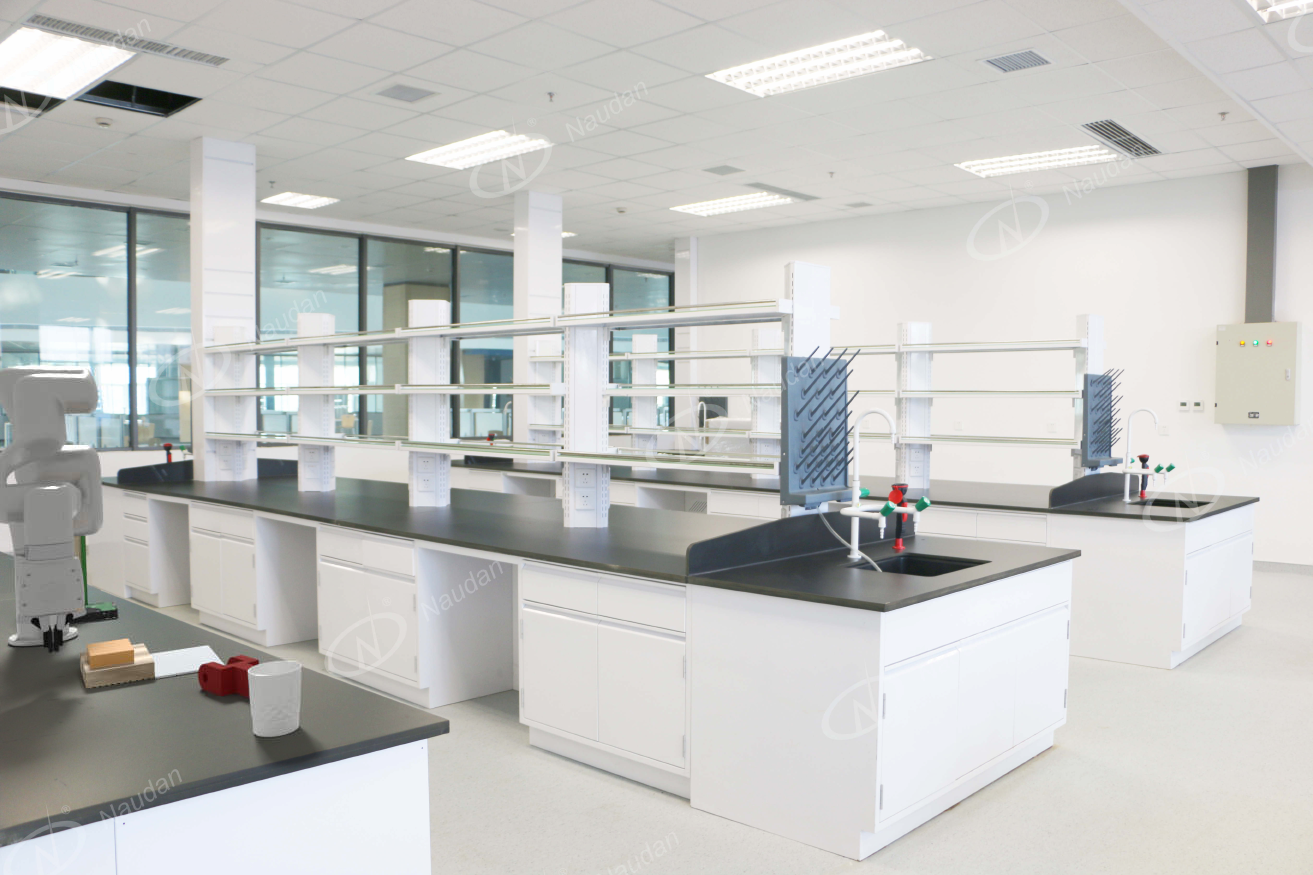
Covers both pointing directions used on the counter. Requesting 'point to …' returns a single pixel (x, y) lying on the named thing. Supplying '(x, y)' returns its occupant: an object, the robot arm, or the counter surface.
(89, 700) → the counter surface
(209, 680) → the mechanical linkage
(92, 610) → the disk drive
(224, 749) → the counter surface
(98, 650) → the slab
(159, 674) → the mat
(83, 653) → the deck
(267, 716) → the white cup
